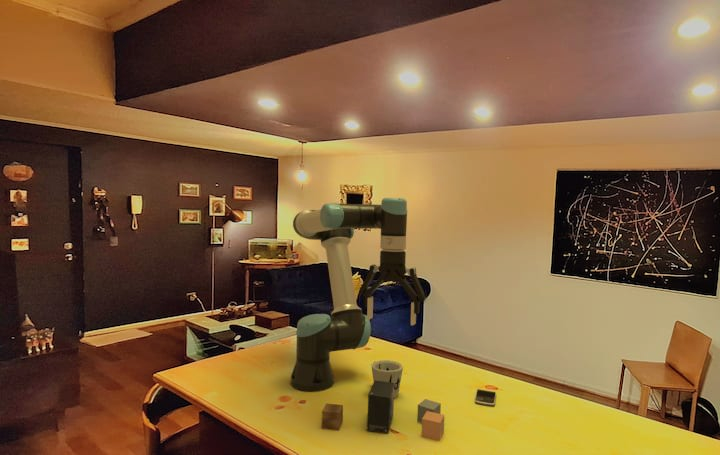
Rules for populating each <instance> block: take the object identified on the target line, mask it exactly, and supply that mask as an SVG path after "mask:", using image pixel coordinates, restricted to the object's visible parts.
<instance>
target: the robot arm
mask: <svg viewBox="0 0 720 455" xmlns="http://www.w3.org/2000/svg"><path fill="white" fill-rule="evenodd" d="M407 207H408V206H407V200H406V199H405V198H404V197H384V198H382V199H381V203H380V204H377V203H376V204H368V203H367V204H365V203H361V204H359V203H355V204H354V203H353V204H352V203H337V202H331V203H324V204H323V205H322V207H321V208H320V209H309V210H302V211H300V212H298V213H296V215H295V216H294V217H293V220H292V228H293V230H294V232H295V233H296V235H298V236H299V237H300V238H303V239H306V240H314V241H315V240H316V241H317V240H318V241H320V246H321V247H322V248H324V249H325V253H326V261H327V267H328V275H329V282H330V289H331V296H332V303H333V310H332V311H331V313H330V315H329V314H327V313H315V314H308V315H306V316H303V317H301V318H300V319H299V320H298V322H297V326H296V331H295V332H296V333H295V335H296V350H295V351H296V352H295V353H296V354H295V355H296V358H295V364H294V367H293V369H292V373H291V375H290V385H291V386H292V387H293V388H294V389H296V388H297V389H296V390H298V389H299V390H298V391H302V390H304V391H303V392H318V391H319V392H320V391H325V390H327V389H329V388H331V387H332V386H334V384H335V374H334V371H333V369H332V364H331V362H330V360H331V359H330V354H331V353H332V352H338V351H339V352H340V351H345V350H346V351H347V350H356V349H361V348H363V347H366V346H367V345H368V343H369V341H370V338H371V332H372V331H371V330H372V328H371V327H372V326H371V325H372V324H371V319H373V318H374V314H373V313H374V296H372V295H373V293H375V292H376V290H377V289H379V286H381V284H382V283H383V282H384V281H385V282H388V283H389V282H392V283H399V284H400V285H401V286H402V288H404V290H405V291H406V293H407V294H408V295H409V296H408V297H410V298H411V300H412V302H411V304H410V326H414V325H416V324H417V322H416V321H417V315H418V314H419V313H420V303H421V302H424V301H425V300H426V299H427V296H426V294H425V291H424V289H423V286H422V285H421V282H420V280H419V278H418V276H417V269H416V267H411V268H407V267H406V254H407V253H406V251H405V250H406V249H407V226H408V225H407V224H408V222H407V221H408V208H407ZM355 229H373V230H374V229H377V230H378V229H379V230H380V243H379V244H380V249H381V250H380V252H379V265H377V264H371V265H370V266H369V268H368V273H367V275H366V278H365V279H364V281H363V283H362V285H361V287H360V290H359V291H358V294H359V295H362V296H363V297H364V308H366V309H367V311H366V313H367V314H363V309H362V308H361V307H359V306H358V303H357V298H356V292H355V285H354V280H353V279H354V278H353V273H352V265H351V260H350V254H349V247H348V246H349V244H350V243H351V240H352V239H353V237H354V235H355ZM378 272H379V274H380V276H379V277H378V278H377V280H376V281H374V283H373V284H372V285H371V287H370V288H369V286H370V284H371V283H372V281H373V278H374V277H375V275H376V273H378ZM406 273H407V275H408V276H410V280H411V282H412V285H413V287H414V289H413V287H412V286H411V284H410V283H409V282H408V279H407V278H406V276H405V275H406ZM368 288H369V289H368Z"/></svg>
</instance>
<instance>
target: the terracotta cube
mask: <svg viewBox="0 0 720 455" xmlns="http://www.w3.org/2000/svg"><path fill="white" fill-rule="evenodd" d="M444 433H445V414H442V413H440V414H438V413H434V412H429V411H427V412H426V413H425V415H424V416H423V418H422V423H421V437H423V438H426V439H430V440H434V441H438V442H440V441H441V439H442V437H443V435H444Z"/></svg>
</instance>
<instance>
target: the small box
mask: <svg viewBox="0 0 720 455" xmlns="http://www.w3.org/2000/svg"><path fill="white" fill-rule="evenodd" d="M394 400H395V398H394V383H391V382H383V381H376V380H375V381H374V382H373V383H372V385H371V388H370V389H369V392H368V397H367V421H366V431H368V432H375V433H382V434H389V431H390V428H391V424H392V421H393V418H394V404H395V401H394Z"/></svg>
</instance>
